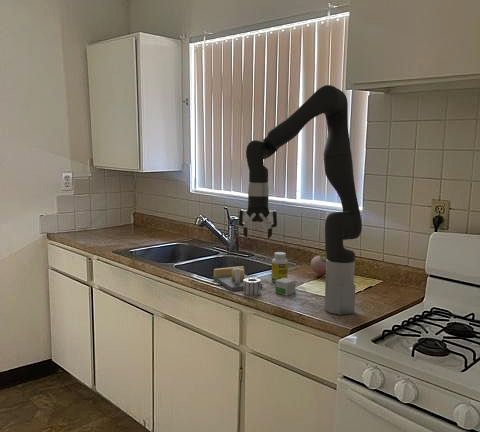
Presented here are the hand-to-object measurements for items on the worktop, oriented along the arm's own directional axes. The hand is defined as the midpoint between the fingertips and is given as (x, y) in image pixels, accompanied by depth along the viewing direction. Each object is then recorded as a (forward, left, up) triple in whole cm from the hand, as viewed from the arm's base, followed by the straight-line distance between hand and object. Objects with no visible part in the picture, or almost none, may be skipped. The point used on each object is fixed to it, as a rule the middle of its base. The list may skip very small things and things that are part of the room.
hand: (257, 237), depth 185 cm
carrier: (+11, +3, -20) cm, 23 cm away
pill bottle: (+8, -14, -20) cm, 26 cm away
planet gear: (-3, +4, -20) cm, 21 cm away
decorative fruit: (+8, -34, -20) cm, 41 cm away
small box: (-7, -8, -21) cm, 23 cm away
